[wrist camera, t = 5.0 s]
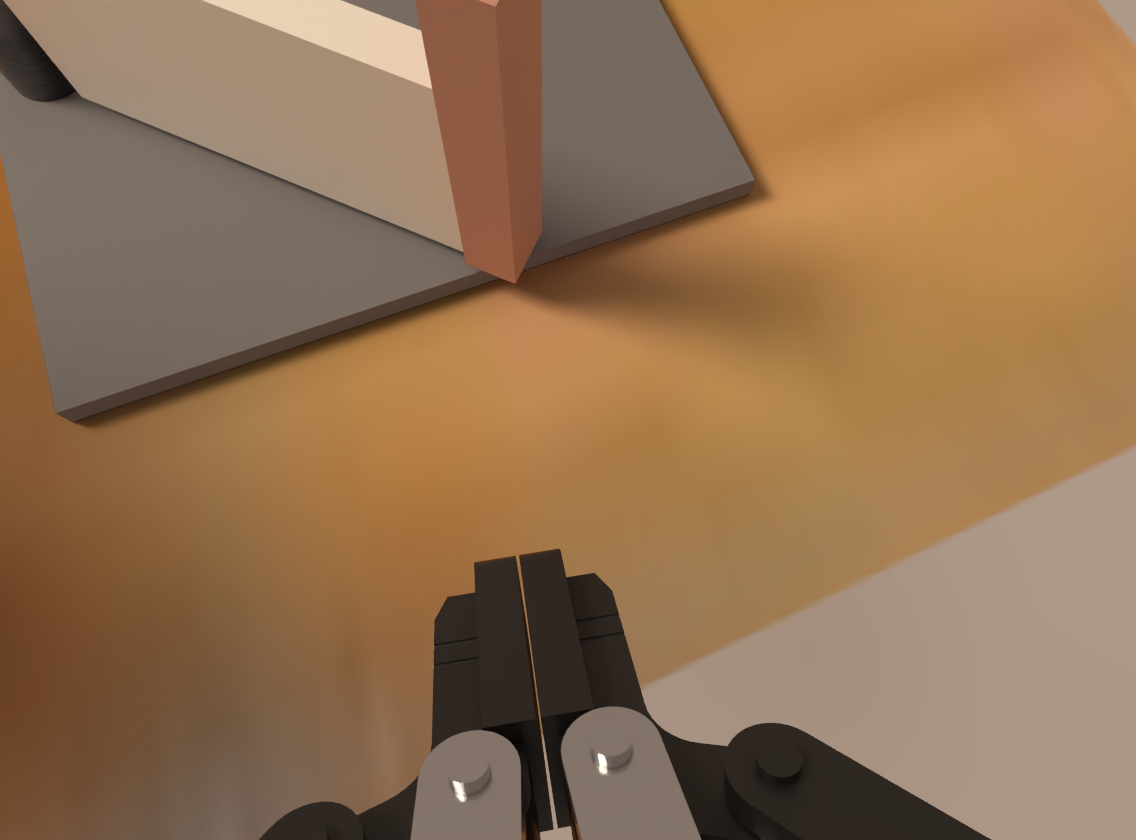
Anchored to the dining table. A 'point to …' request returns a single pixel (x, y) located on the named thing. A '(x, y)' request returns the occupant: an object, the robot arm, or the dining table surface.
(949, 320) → the dining table surface
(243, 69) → the gate
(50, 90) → the gate posts
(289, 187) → the mat
